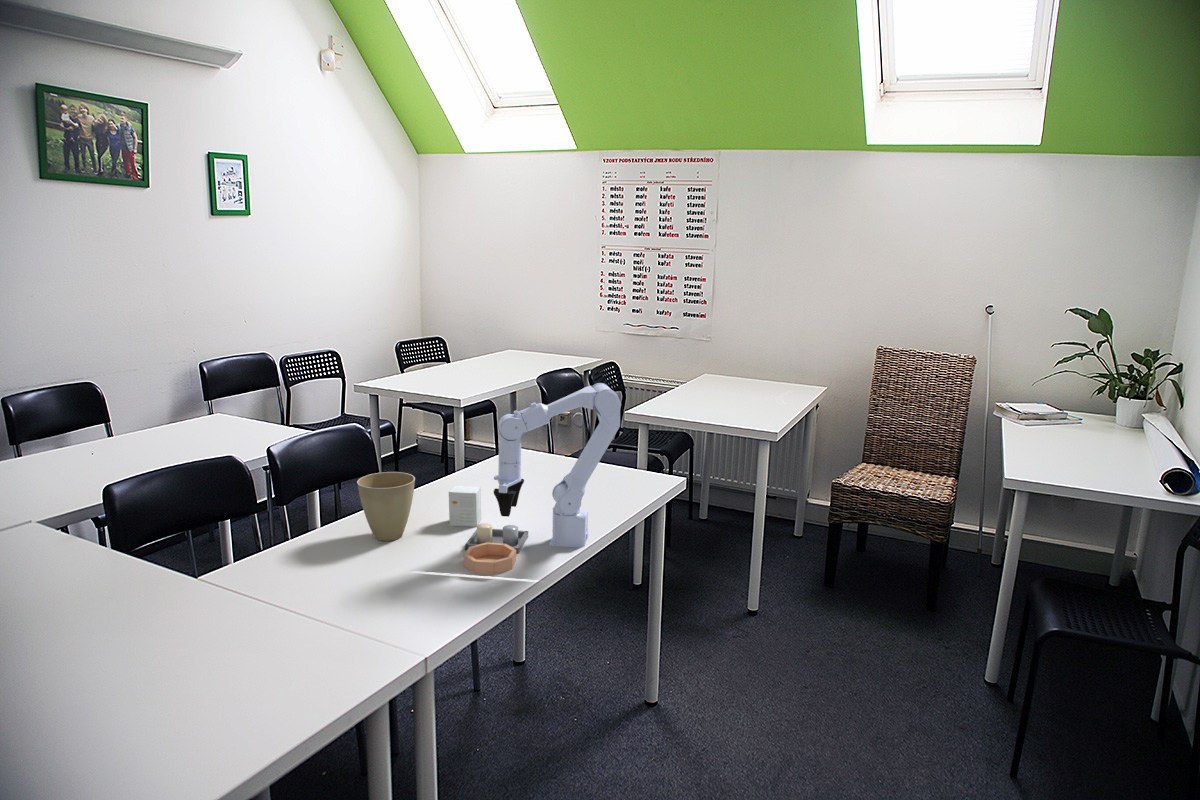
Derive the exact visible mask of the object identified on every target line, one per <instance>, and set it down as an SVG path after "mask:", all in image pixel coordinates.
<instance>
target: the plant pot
mask: <svg viewBox="0 0 1200 800" xmlns="http://www.w3.org/2000/svg"><path fill="white" fill-rule="evenodd" d="M415 483H416V477H415V476H414V475H413V474H411V473H406V472H401V471H400V472H399V471H386V472H385V471H384V472H377V473H376V472H374V473H371V474H367V475H365V476H362V477H360V478H359V479H358V480H357V481H356V484H357V489H358V494H359V498H360V503H361V506H362V510H363V513H364V516H365V519H366V522H367V524H368V526H369V528H370V531H371V533H372V535H373V538H374V539H375V540H377V541H380V542H381V541H382V542H390V541H391V542H392V541H395V540H399V539H400V538H402V537H403V535H404V532H405V531H406V530H405V529H406V527H407V523H408V520H409V517H410V512H411V507H412V503H413V498H414V493H415V491H414V490H415Z"/></svg>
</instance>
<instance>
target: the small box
mask: <svg viewBox="0 0 1200 800" xmlns="http://www.w3.org/2000/svg"><path fill="white" fill-rule="evenodd" d="M481 487H482V486H467V485H466V486H464V485H454V486H453V487H452V488H451V489H450V490H449V491H448V510H449V511H448V512H449V513H448V514H449V515H448V516H449V520H448V521H449V526H452V527H453V526H455V527H456V526H457V527H472V528H477V525H479V524H481V522H482V519H483V517H482V488H481Z"/></svg>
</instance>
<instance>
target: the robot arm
mask: <svg viewBox="0 0 1200 800" xmlns="http://www.w3.org/2000/svg"><path fill="white" fill-rule="evenodd" d="M621 406H622V402H621V400H620V398H619V396H618V394H617V392H615V391H614V390H612V389H611V388H610V387H609V386H608V385H607V384H606V383H602V382H598V383H595V384H593V385H588V386H585V387H583V388H582V389H579V390H577V391H574V392H573V393H570V394H568V395H567V396H564V397H561V398H559V399H557V400H555V401H553V402H550V403H548V404H544V403H541V402H539V403H536V402H535V401H534V402H532V403H530V406H529V407H526V408H524V409H522V410H519V411H518V410H517V409H516V410H514V411H513V413H512V414H511V413H507V414H504V415H502V416H501V418H500V419H499V420H498V423H497V428H498V430H499V432H500V433H499V436H498V437H499V439H498V441H499V443H498V474H495V475H494V476H493V480H495V481H497V482H498V488H497V487H496V488H494V489H493V495H494V497H495V499H496V500H497V503H498V508H499V513H500V516H501V517H509V518H510V515H511V513H512V507H513V508H515V507H517V506H518V505H517V504H518V500H519V497H520V492H521V489H522V486H523V485H524V482H525V479H524V478H522V476H521V472H522V471H521V470H522V469H521V468H522V464H521V463H522V443H521V440H522V439H521V437H522V436H523V434H524V433H528V432H530V431H533V430H535V429H538V428H540V427H542V426H545V425H548V424H549V423H550V420H551V419H552V417H555V416H557V415H561V414H565V413H567V412H569V411H571V410H574V409H577V408H583V409H584V408H585V409H589V410H595V412H596V415H597V418H598V421H599V422H598V425H597V426H596V428H595V429H594V431H593V433H592V434H591V436H590V438H589V439H588V441H587V442H586V444H585V446H584V448H583V450H582V451H581V453H580V455H579V457H578V458H577V460H576V462H575V463H574V465H573V467H572V469H571V470H570V472H568V474H567V473H566V475H565V476H563V478H562V479H561V481H560V482H558V483H557V484H556V485H555V486H554V487H553V489H552V493H551V494H552V495H551V496H552V499H553V501H555V505H554V506H553V507H552V536H551V539H550V542H549V543H548V545H549V546H555V547H568V548H569V547H570V548H571V547H572V548H582V549H583V548H585V547H586V544H587V540H588V538H589V513H588V511H583V510H581V506H582V499H583V497H584V496H585V493H586V487H587V483H588V481H589V479H590V478H591V476H592V474H593V473H594V471H595V470H596V467H598V464H599V463H600V461H601V459H602V457H603V455H604V454H605V453H606V451H607V449H608V447H609V446H610V444H611V443H612V441H613V439H614V437H615V435H616V434H617V432H618V430H619V429H620V427H621Z"/></svg>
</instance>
